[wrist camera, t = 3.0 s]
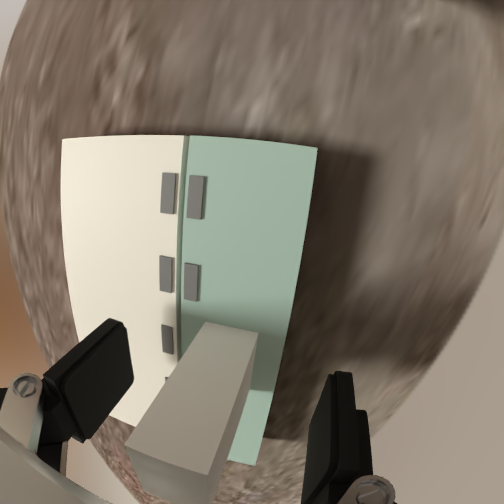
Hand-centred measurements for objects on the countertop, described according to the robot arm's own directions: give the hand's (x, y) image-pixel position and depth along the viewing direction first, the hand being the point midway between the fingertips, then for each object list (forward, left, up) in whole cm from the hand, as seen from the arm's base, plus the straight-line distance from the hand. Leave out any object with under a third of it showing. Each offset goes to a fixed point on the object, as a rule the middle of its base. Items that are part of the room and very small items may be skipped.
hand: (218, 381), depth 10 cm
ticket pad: (0, -5, -4) cm, 6 cm away
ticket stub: (0, 0, -3) cm, 3 cm away
